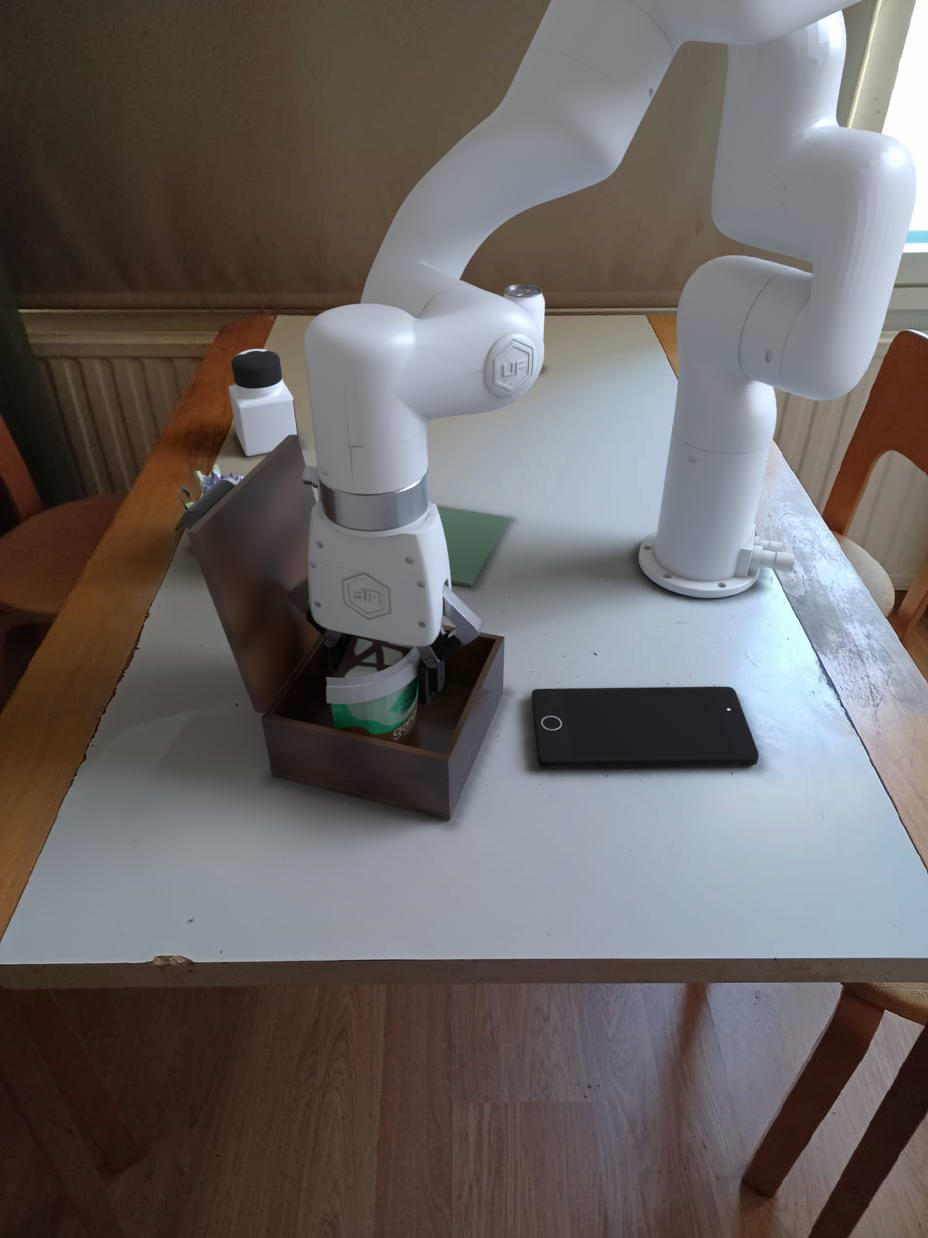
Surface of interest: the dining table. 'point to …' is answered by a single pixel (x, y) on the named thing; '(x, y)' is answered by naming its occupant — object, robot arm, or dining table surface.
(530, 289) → the can
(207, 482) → the passion flower
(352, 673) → the food container
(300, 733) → the chest
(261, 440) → the medicine bottle
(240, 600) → the lid
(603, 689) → the cell phone
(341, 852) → the dining table surface
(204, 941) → the dining table surface
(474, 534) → the mat
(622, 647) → the dining table surface
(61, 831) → the dining table surface
